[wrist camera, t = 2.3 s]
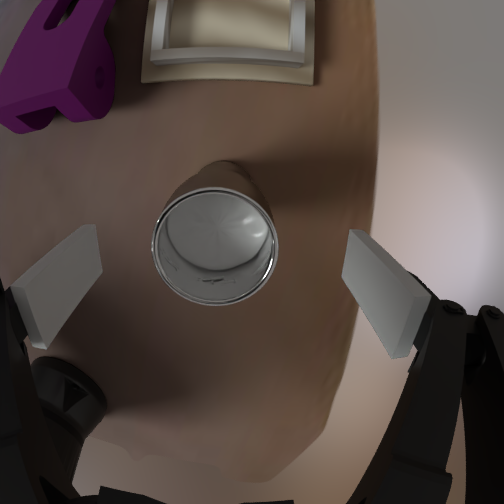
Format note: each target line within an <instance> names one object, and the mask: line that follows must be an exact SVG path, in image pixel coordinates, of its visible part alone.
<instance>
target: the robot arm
mask: <svg viewBox="0 0 504 504" xmlns="http://www.w3.org/2000/svg"><path fill="white" fill-rule="evenodd" d="M102 272H103V270H102V265H101V259H100V253H99V246H98V239H97V232H96V224H89V225H82V226H81V227H80V228H78V229H77V230H76V231H74V232H73V233H72V234H70V235H69V236H68V237H67V238H65V239H64V240H63V241H62V242H60V243H59V244H58V245H57V246H55V247H54V248H53V249H52V250H50V251H49V252H48V253H47V254H46V255H44V256H43V257H42V258H41V259H40V260H39V261H37V262H36V263H35V264H34V265H33V266H32V267H30V268H29V269H28V270H27V271H26V272H25V273H24V274H23V275H21V276H20V277H19V278H18V279H17V280H16V281H15V282H14V283H13V284H12V285H11V286H10V287H9V288H8V289H7V290H6V291H4V288H3V285H2V282H1V279H0V504H166V503H163V502H160V501H158V500H155V499H153V498H150V497H147V496H145V495H141V494H136V493H130V492H126V491H121V490H116V489H112V488H108V487H104V486H100V490H99V495H89V496H82V497H81V496H80V495H79V494H78V492H77V491H76V490H75V488H74V487H73V485H72V481H73V478H74V474H75V470H76V467H77V463H78V460H79V457H80V453H81V450H82V447H83V444H84V441H85V439H86V438H87V437H88V436H89V434H90V433H91V432H92V431H93V430H94V429H95V427H96V426H97V425H98V424H99V423H100V422H101V421H102V419H103V417H104V414H105V411H106V408H107V402H106V399H105V396H104V394H103V393H102V391H101V390H100V388H99V387H98V386H97V385H96V384H95V383H94V382H93V381H92V380H91V379H90V378H89V377H88V376H86V375H85V374H84V373H83V372H81V371H80V370H78V369H77V368H75V367H73V366H72V365H70V364H68V363H66V362H63V361H61V360H58V359H55V358H50V357H40V358H37V359H35V360H34V361H33V362H32V364H31V366H30V362H29V357H28V352H27V347H26V345H25V343H24V341H23V340H24V339H25V338H26V336H27V335H28V336H29V339H30V341H31V343H32V346H33V347H37V348H42V349H46V350H47V348H48V347H49V345H50V344H51V342H52V341H53V339H54V338H55V336H56V335H57V333H58V332H59V331H60V329H61V328H62V326H63V325H64V323H65V322H66V320H67V319H68V318H69V316H70V315H71V313H72V312H73V311H74V309H75V308H76V307H77V305H78V304H79V302H80V301H81V300H82V298H83V297H84V296H85V294H86V293H87V292H88V290H89V289H90V288H91V287H92V285H93V284H94V283H95V281H96V280H97V279H98V277H99V276H100V275H101V274H102ZM341 277H342V279H343V280H344V282H345V284H346V285H347V287H348V288H349V290H350V291H351V293H352V294H353V296H354V298H355V299H356V301H357V302H358V304H359V306H360V307H361V309H362V310H363V312H364V314H365V315H366V317H367V319H368V320H369V322H370V323H371V325H372V327H373V328H374V330H375V332H376V333H377V335H378V337H379V338H380V340H381V342H382V343H383V345H384V347H385V349H386V350H387V352H388V354H389V355H390V357H391V359H394V358H401V357H407V356H408V355H409V352H410V350H411V348H412V345H413V344H414V346H415V347H416V349H417V350H418V351H417V353H416V355H415V357H414V359H413V361H412V364H411V366H410V368H409V370H408V372H409V375H408V378H407V381H406V383H405V386H404V389H403V392H402V394H401V397H400V399H399V402H398V404H397V407H396V409H395V411H394V414H393V416H392V419H391V421H390V423H389V425H388V428H387V430H386V432H385V434H384V436H383V438H382V441H381V443H380V445H379V447H378V449H377V451H376V453H375V455H374V457H373V459H372V461H371V462H370V465H369V466H368V468H367V470H366V472H365V474H364V475H363V477H362V479H361V481H360V483H359V484H358V486H357V488H356V489H355V491H354V493H353V494H352V496H351V497H350V499H349V500H348V502H347V503H346V504H446V500H447V498H448V495H449V492H450V488H451V484H452V474H451V473H447V472H446V470H445V469H446V464H447V461H448V457H449V453H450V449H451V445H452V440H453V436H454V431H455V427H456V422H457V416H458V411H459V405H460V398H461V400H462V409H463V418H464V431H465V447H466V495H465V496H466V497H465V504H504V314H503V313H502V312H501V311H500V309H498V308H496V307H495V306H489V305H484V306H482V307H481V308H480V310H479V313H478V315H477V316H473V315H467V313H466V310H465V309H464V308H463V307H462V306H461V305H459V304H458V303H456V302H454V301H450V300H440V299H439V298H438V297H437V296H436V295H435V294H434V293H433V292H432V291H431V290H430V289H429V288H427V286H426V285H425V284H424V283H422V281H421V280H420V279H419V278H418V277H417V276H415V275H414V274H412V273H410V272H408V271H406V270H405V269H404V268H403V267H402V266H401V265H400V264H399V263H398V262H397V261H396V260H395V259H394V258H393V257H392V256H391V255H390V254H389V253H388V252H387V251H385V250H384V249H383V248H382V247H381V246H380V245H379V244H378V243H377V242H376V241H375V240H373V239H372V238H371V237H370V236H369V235H368V234H367V233H366V232H365V231H363V230H355V229H350V230H349V236H348V242H347V248H346V254H345V260H344V265H343V271H342V276H341ZM241 504H294V501H293V500H285V501H273V502H255V503H241Z"/></svg>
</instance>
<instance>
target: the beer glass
mask: <svg viewBox="0 0 504 504" xmlns="http://www.w3.org/2000/svg"><path fill="white" fill-rule="evenodd" d="M151 252H152V258H153V262H154V265H155V267H156V269H157V271H158V273H159V275H160V277H161V278H162V280H163V281H164V282H165V283H166V284H167V286H168V287H169V288H171V289H172V290H173V291H174V292H175V293H177V294H178V295H180V296H181V297H183V298H185V299H187V300H189V301H192V302H194V303H198V304H202V305H208V306H224V305H230V304H234V303H238V302H240V301H243V300H245V299H247V298H249V297H251V296H252V295H254V294H255V293H256V292H258V291H259V290H260V289H261V288H262V287H263V286H264V285H265V284H266V282H267V281H268V280H269V278H270V277H271V275H272V273H273V271H274V269H275V266H276V263H277V259H278V253H279V242H278V236H277V232H276V229H275V223H274V219H273V215H272V212H271V209H270V206H269V204H268V202H267V200H266V198H265V196H264V195H263V193H262V192H261V190H260V189H259V188H258V187H257V185H256V184H255V183H254V182H252V180H251V178H250V176H249V174H248V173H247V172H246V171H245V170H244V169H243V168H242V167H241V166H239V165H237V164H235V163H232V162H228V161H217V162H213V163H210V164H208V165H206V166H205V167H204V168H202V169H201V170H200V171H199V172H198V173H197V174H195V175H193V176H192V177H190V178H189V179H187V180H186V181H185V182H184V183H182V184H181V185H180V186H179V187H178V188H177V189H176V190H175V191H174V193H173V194H172V196H171V197H170V198H169V200H168V201H167V203H166V205H165V207H164V209H163V211H162V213H161V214H160V216H159V218H158V220H157V222H156V224H155V226H154V229H153V233H152V239H151Z"/></svg>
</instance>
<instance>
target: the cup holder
mask: <svg viewBox="0 0 504 504" xmlns="http://www.w3.org/2000/svg"><path fill="white" fill-rule="evenodd" d="M314 36H315V0H149V6H148V13H147V21H146V29H145V38H144V47H143V58H142V71H141V82H142V83H144V84H145V83H156V82H170V81H192V80H236V81H259V82H273V83H285V84H295V85H303V86H312V85H313V73H314Z"/></svg>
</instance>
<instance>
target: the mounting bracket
mask: <svg viewBox="0 0 504 504" xmlns="http://www.w3.org/2000/svg"><path fill="white" fill-rule="evenodd" d="M71 1H72V0H42V1H41V3H40V4H39V5H38V6H37V8H36V9H35V11H34V12H33V14H32V15H31V17H30V19H29V20H28V22H27V24H26V25H25V27H24V29H23V31H22V32H21V34H20V36H19V38H18V40H17V42H16V43H15V45H14V47H13V49H12V51H11V53H10V55H9V57H8V59H7V62H6V64H5V66H4V68H3V70H2V73H1V75H0V123H1V124H2V125H4V126H5V127H7V128H8V129H10V130H11V131H13V132H14V133H17V134H24V133H28V132H32V131H36V130H41V129H43V128H45V127H46V126H48V125H49V124H50V122H51V121H52V119H53V117H54V115H55V113H56V110H57V109H58V110H59V111H60V112H61V113H62V114H63V115H64V116H65V117H66V118H67V119H69V120H70V121H72V122H83V121H89V120H96V119H101V118H103V117H105V116H106V115H107V113H108V112H109V110H110V108H111V105H112V102H113V98H114V88H115V71H116V70H115V62H114V57H113V53H112V50H111V48H110V46H109V44H108V42H107V40H106V38H105V36H104V26H105V24H106V22H107V19H108V17H109V15H110V13H111V11H112V8H113V6H114V4H115V2H116V0H79V2H78V3H77V5H76V7H75V8H74V10H73V12H72V14H71V15H70V17H69V18H68V19H67V20H66V21H65V22H63V23H62V24H61V25H59V26H58V27H57V25H58V23H59V22H60V20H61V18H62V16H63V14H64V13H65V11H66V9H67V7H68V6H69V4H70V2H71Z"/></svg>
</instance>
